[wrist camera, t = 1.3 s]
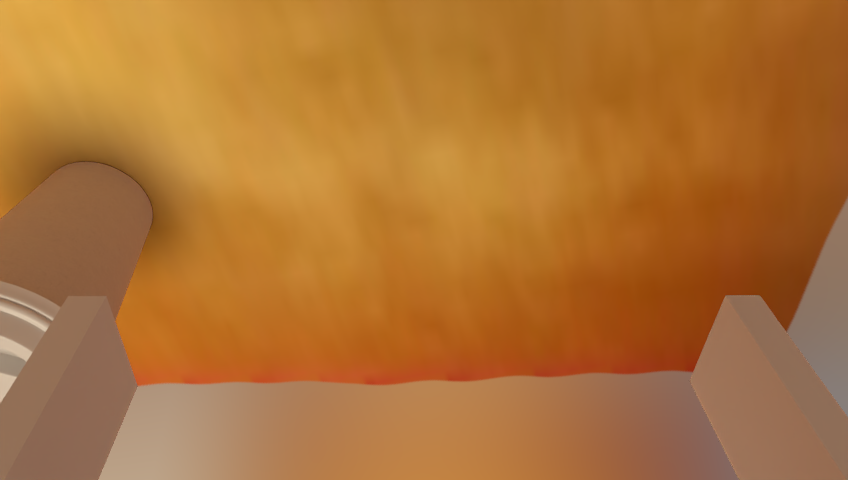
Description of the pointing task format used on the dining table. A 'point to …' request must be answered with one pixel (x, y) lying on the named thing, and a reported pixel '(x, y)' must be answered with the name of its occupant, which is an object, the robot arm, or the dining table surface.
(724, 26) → the dining table surface
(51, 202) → the coffee cup
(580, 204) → the dining table surface
